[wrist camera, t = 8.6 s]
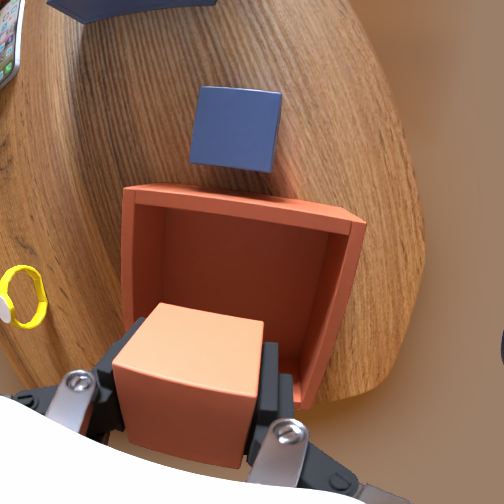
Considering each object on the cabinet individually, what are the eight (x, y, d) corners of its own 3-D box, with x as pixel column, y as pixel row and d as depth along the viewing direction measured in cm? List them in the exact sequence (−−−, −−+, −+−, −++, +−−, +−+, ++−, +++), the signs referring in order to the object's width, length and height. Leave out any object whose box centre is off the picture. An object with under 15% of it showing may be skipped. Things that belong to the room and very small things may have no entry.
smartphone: (-19, 105, 18) (-11, 19, 14) (-13, 105, 19) (-6, 20, 15) (15, 70, 17) (24, -15, 13) (21, 71, 18) (29, -13, 14)
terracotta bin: (342, 208, 19) (367, 223, 13) (305, 361, 22) (310, 410, 17) (163, 181, 20) (123, 187, 14) (157, 334, 23) (129, 375, 18)
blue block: (281, 109, 18) (282, 92, 13) (272, 173, 19) (270, 173, 15) (216, 103, 18) (199, 85, 14) (207, 164, 19) (188, 163, 15)
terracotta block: (264, 320, 11) (257, 396, 7) (249, 396, 13) (239, 470, 8) (159, 301, 12) (110, 361, 7) (161, 378, 13) (128, 443, 9)
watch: (58, 314, 24) (22, 342, 18) (42, 313, 24) (7, 339, 19) (41, 258, 22) (-1, 278, 17) (25, 260, 23) (-15, 279, 17)
